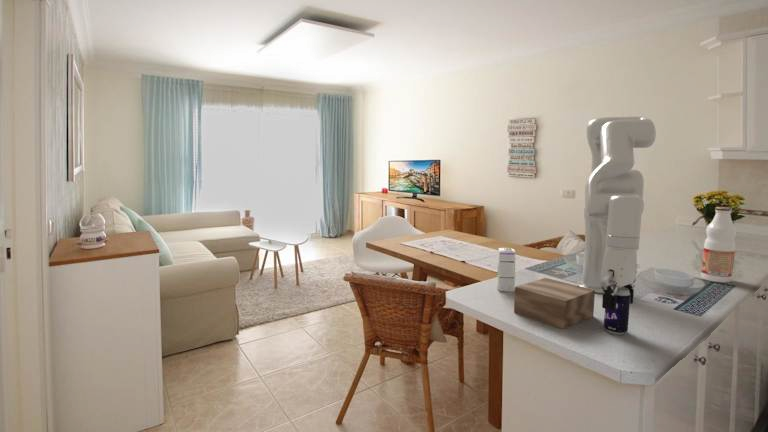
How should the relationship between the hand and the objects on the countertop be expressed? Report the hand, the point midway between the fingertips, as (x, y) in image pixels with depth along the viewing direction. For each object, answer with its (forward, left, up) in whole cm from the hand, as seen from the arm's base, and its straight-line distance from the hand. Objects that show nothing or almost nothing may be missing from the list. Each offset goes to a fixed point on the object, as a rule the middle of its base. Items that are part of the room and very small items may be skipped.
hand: (617, 305), depth 112 cm
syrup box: (-7, -41, -8) cm, 43 cm away
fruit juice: (-82, 0, -8) cm, 83 cm away
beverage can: (0, 0, -8) cm, 8 cm away
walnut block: (+2, -17, -7) cm, 19 cm away
